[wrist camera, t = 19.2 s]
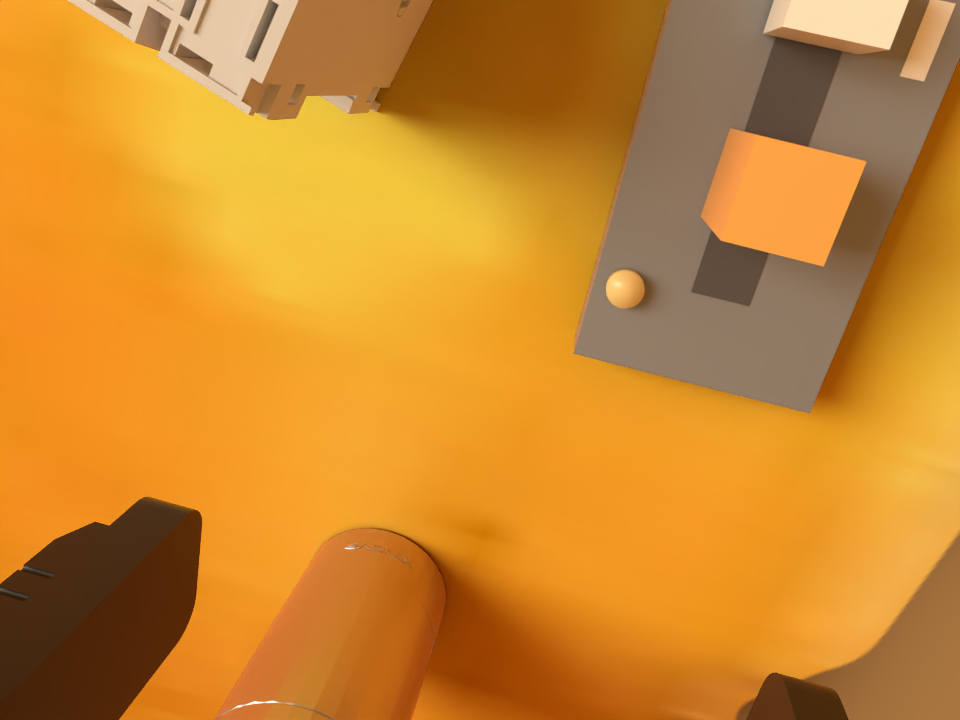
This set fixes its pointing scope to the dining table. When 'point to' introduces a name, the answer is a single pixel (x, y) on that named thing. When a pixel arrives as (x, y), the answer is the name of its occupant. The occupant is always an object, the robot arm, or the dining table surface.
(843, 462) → the dining table surface
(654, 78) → the breaker panel
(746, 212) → the cap
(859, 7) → the switch
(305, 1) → the circuit breaker
